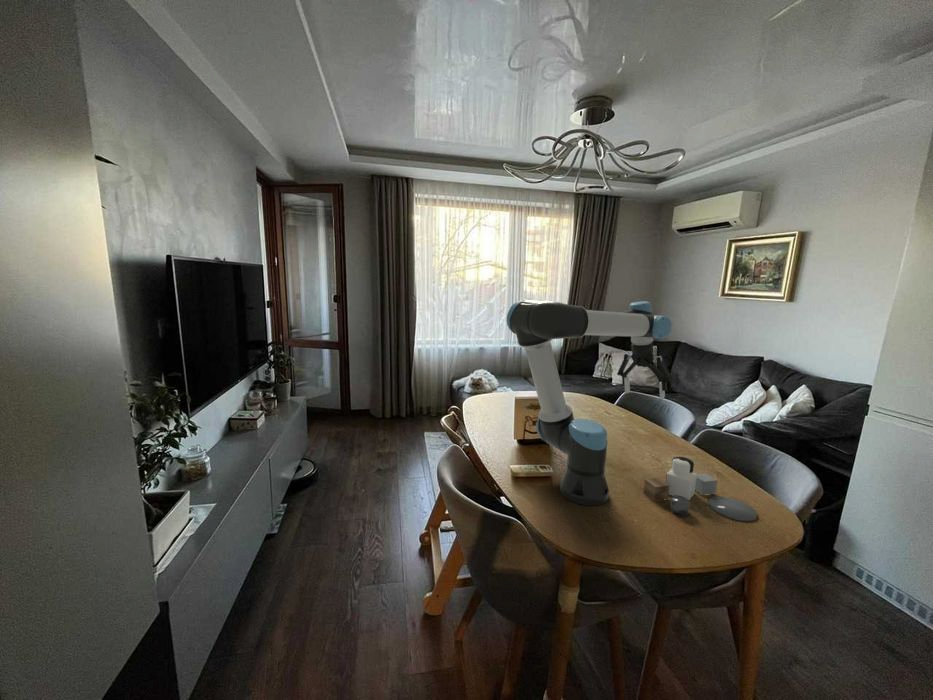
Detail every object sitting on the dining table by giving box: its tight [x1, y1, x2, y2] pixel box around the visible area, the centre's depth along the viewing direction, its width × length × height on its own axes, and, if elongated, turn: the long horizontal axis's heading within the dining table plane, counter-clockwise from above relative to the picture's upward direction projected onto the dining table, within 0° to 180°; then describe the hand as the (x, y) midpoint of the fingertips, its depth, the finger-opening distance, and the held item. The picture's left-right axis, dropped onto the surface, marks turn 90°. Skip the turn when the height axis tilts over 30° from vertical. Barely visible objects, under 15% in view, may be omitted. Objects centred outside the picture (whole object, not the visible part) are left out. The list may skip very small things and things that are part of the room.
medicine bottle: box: [665, 456, 698, 501], centre depth 124 cm, size 7×7×12 cm
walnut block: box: [643, 477, 669, 502], centre depth 123 cm, size 5×5×5 cm
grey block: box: [695, 473, 718, 496], centre depth 127 cm, size 5×5×5 cm
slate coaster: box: [708, 496, 758, 522], centre depth 116 cm, size 12×12×1 cm
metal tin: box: [669, 495, 691, 518], centre depth 114 cm, size 5×5×4 cm
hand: (644, 395), depth 149 cm, fingers open, 13 cm apart
